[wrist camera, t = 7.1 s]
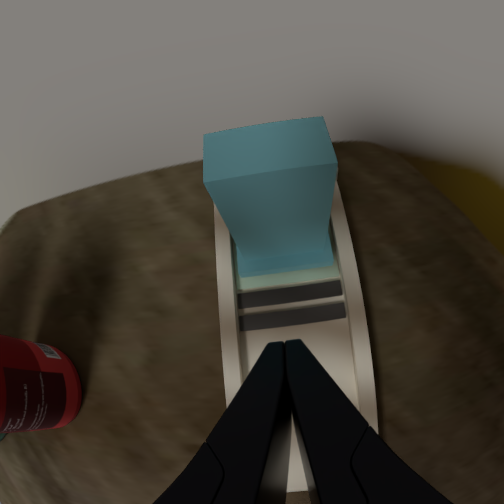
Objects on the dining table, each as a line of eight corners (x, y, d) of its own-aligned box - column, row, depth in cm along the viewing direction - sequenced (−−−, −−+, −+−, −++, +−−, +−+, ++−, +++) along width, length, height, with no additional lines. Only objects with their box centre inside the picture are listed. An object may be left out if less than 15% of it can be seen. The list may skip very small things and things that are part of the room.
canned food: (22, 354, 22) (-66, 334, 12) (73, 335, 22) (-29, 307, 12) (39, 429, 19) (-53, 432, 9) (95, 422, 19) (-12, 434, 9)
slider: (332, 265, 19) (355, 178, 10) (241, 277, 20) (190, 201, 11) (321, 211, 21) (329, 103, 12) (237, 223, 22) (192, 125, 12)
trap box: (372, 473, 15) (385, 491, 12) (242, 488, 16) (231, 508, 13) (331, 184, 23) (335, 157, 20) (219, 200, 24) (207, 176, 21)
